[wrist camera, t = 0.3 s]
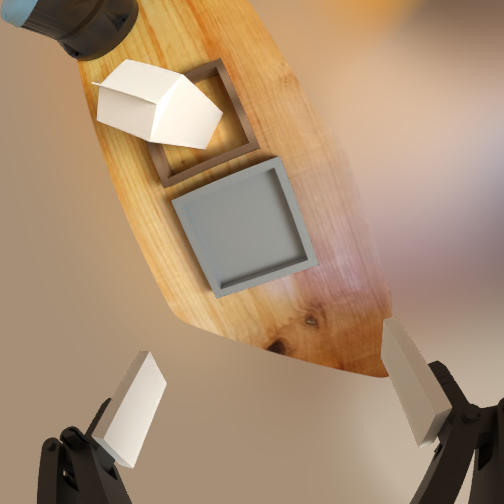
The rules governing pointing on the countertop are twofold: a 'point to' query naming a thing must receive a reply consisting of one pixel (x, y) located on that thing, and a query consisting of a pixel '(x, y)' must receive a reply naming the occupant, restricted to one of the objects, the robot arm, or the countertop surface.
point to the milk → (157, 105)
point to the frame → (171, 179)
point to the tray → (246, 228)
